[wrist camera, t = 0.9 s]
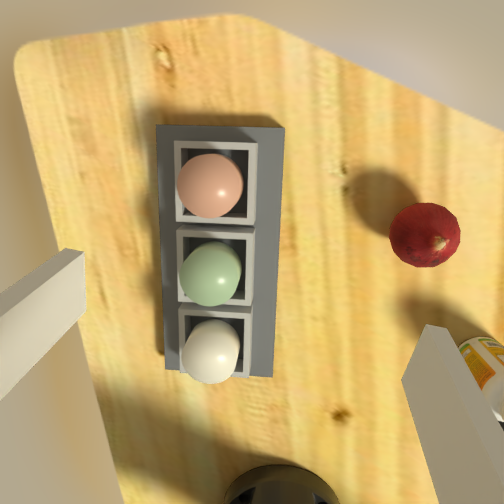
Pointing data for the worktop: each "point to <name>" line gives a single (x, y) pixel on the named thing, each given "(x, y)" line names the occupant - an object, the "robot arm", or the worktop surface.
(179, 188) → the terracotta button
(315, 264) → the worktop surface
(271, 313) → the button panel
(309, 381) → the worktop surface
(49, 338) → the robot arm
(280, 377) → the worktop surface
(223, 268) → the sage button
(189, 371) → the cream button
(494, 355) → the supplement bottle
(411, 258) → the onion
